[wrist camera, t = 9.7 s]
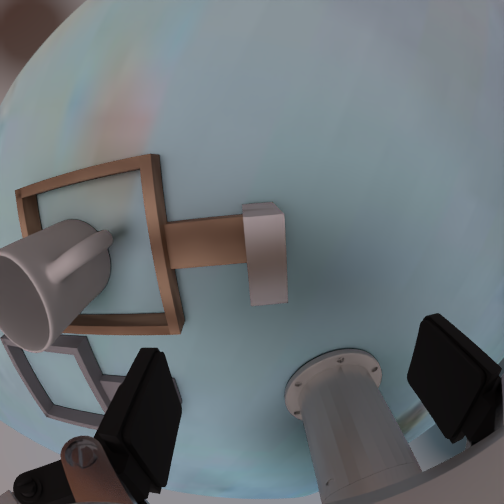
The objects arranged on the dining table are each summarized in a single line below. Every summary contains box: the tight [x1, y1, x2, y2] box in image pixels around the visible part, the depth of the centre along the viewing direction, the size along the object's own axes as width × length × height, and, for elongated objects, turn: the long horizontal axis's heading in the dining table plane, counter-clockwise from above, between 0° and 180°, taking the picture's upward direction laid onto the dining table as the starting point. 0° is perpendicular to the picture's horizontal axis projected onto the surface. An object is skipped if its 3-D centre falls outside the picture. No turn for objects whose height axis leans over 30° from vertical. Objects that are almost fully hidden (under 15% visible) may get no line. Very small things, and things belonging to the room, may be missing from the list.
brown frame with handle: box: [15, 154, 288, 335], centre depth 21 cm, size 16×26×7 cm, turn 95°
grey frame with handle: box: [0, 334, 182, 430], centre depth 26 cm, size 16×26×7 cm, turn 95°
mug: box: [0, 219, 113, 353], centre depth 19 cm, size 12×8×11 cm
